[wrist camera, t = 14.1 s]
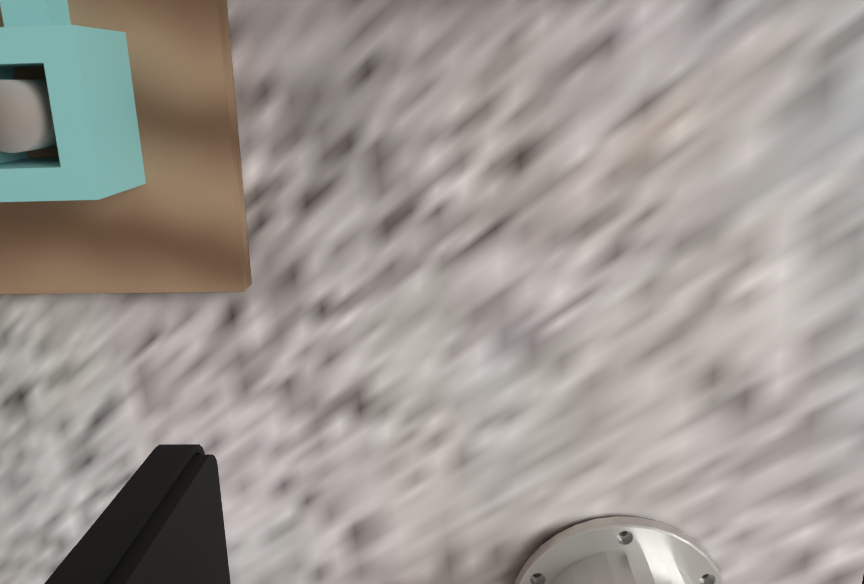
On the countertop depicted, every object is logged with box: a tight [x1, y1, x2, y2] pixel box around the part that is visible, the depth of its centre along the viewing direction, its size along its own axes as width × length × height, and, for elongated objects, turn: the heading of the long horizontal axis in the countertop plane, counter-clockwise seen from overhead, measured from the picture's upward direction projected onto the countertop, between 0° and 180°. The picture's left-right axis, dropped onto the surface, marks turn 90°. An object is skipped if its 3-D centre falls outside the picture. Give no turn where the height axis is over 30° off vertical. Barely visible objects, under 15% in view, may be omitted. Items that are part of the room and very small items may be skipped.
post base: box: [0, 0, 252, 294], centre depth 34 cm, size 18×16×6 cm
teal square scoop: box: [0, 0, 146, 202], centre depth 32 cm, size 13×7×5 cm, turn 2°
